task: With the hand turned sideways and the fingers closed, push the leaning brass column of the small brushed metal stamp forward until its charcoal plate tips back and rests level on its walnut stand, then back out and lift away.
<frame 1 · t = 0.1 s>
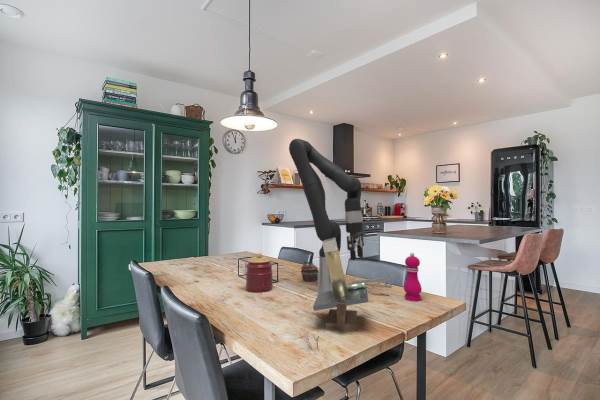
hand: (356, 258, 138), 17 cm above the table, tool pointing down, fingers open, 8 cm apart
brushed metal stamp: (335, 269, 110), point 18 cm above the table, hinge at -12.0°
stand: (342, 322, 109), on the table
canister: (259, 289, 153), on the table
cupcake: (310, 280, 170), on the table
caliper: (371, 285, 159), on the table
pepper mill: (412, 299, 135), on the table
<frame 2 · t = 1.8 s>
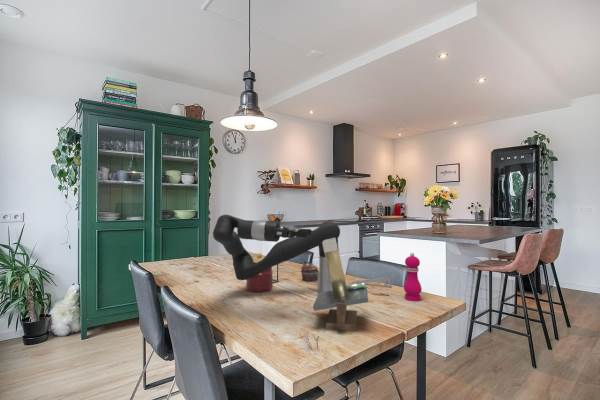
hand: (309, 233, 112), 31 cm above the table, tool horizontal, fingers open, 8 cm apart
nothing on the table moved.
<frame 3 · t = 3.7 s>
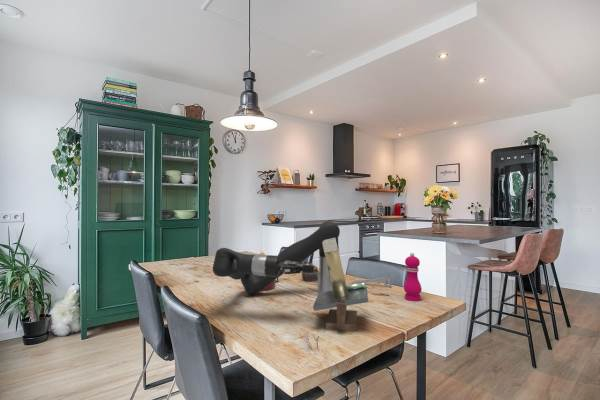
hand: (313, 269, 111), 18 cm above the table, tool horizontal, fingers closed
canister: (262, 288, 155), on the table
everything else where it was.
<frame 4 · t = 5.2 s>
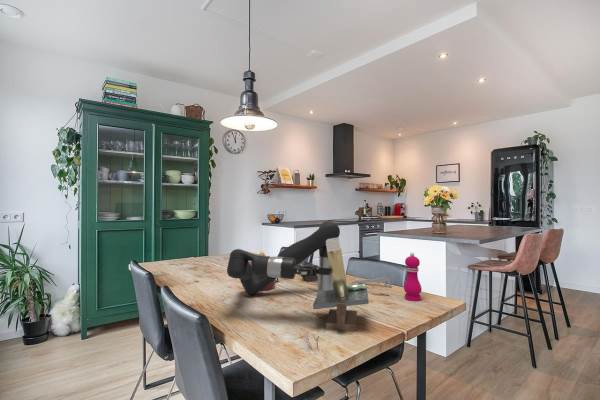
hand: (329, 271, 110), 18 cm above the table, tool horizontal, fingers closed
brushed metal stamp: (337, 269, 110), point 18 cm above the table, hinge at -8.6°, touching gripper
everything else where it was.
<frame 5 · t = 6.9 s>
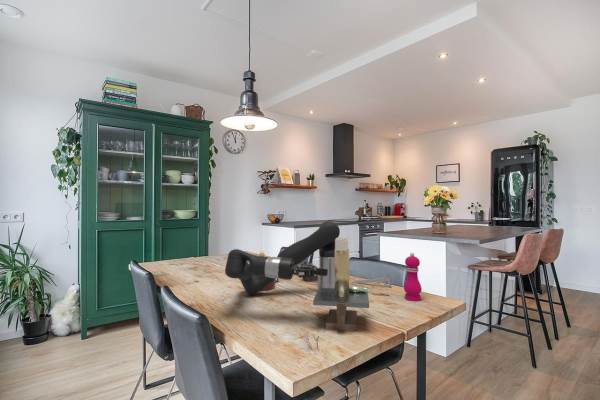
hand: (327, 272, 110), 17 cm above the table, tool horizontal, fingers closed
brushed metal stamp: (341, 268, 109), point 19 cm above the table, hinge at 0.3°
everything else where it was.
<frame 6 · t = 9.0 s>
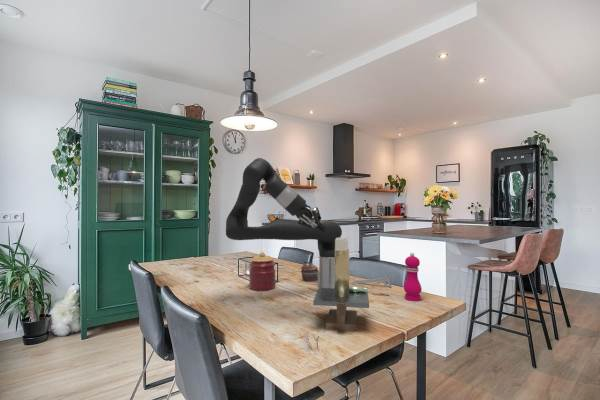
hand: (324, 231, 117), 31 cm above the table, tool tilted 50°, fingers closed
nothing on the table moved.
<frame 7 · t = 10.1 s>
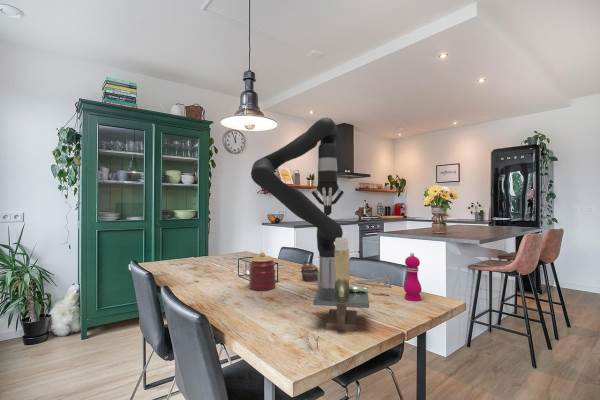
hand: (327, 215, 121), 37 cm above the table, tool pointing down, fingers closed
nothing on the table moved.
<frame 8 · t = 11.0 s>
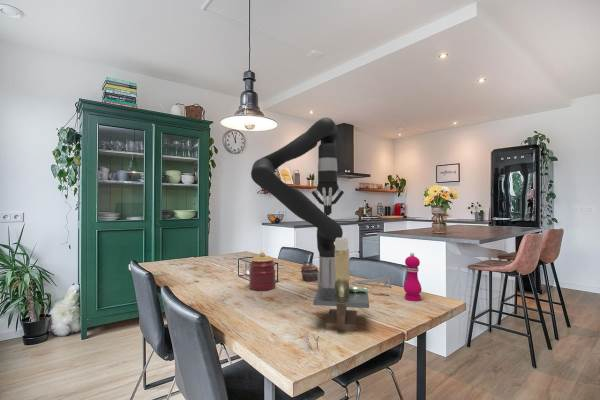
hand: (327, 215, 121), 37 cm above the table, tool pointing down, fingers closed
nothing on the table moved.
at the end: brushed metal stamp at +0° (first picture: -12°); pepper mill moved 0.2 cm from its start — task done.
